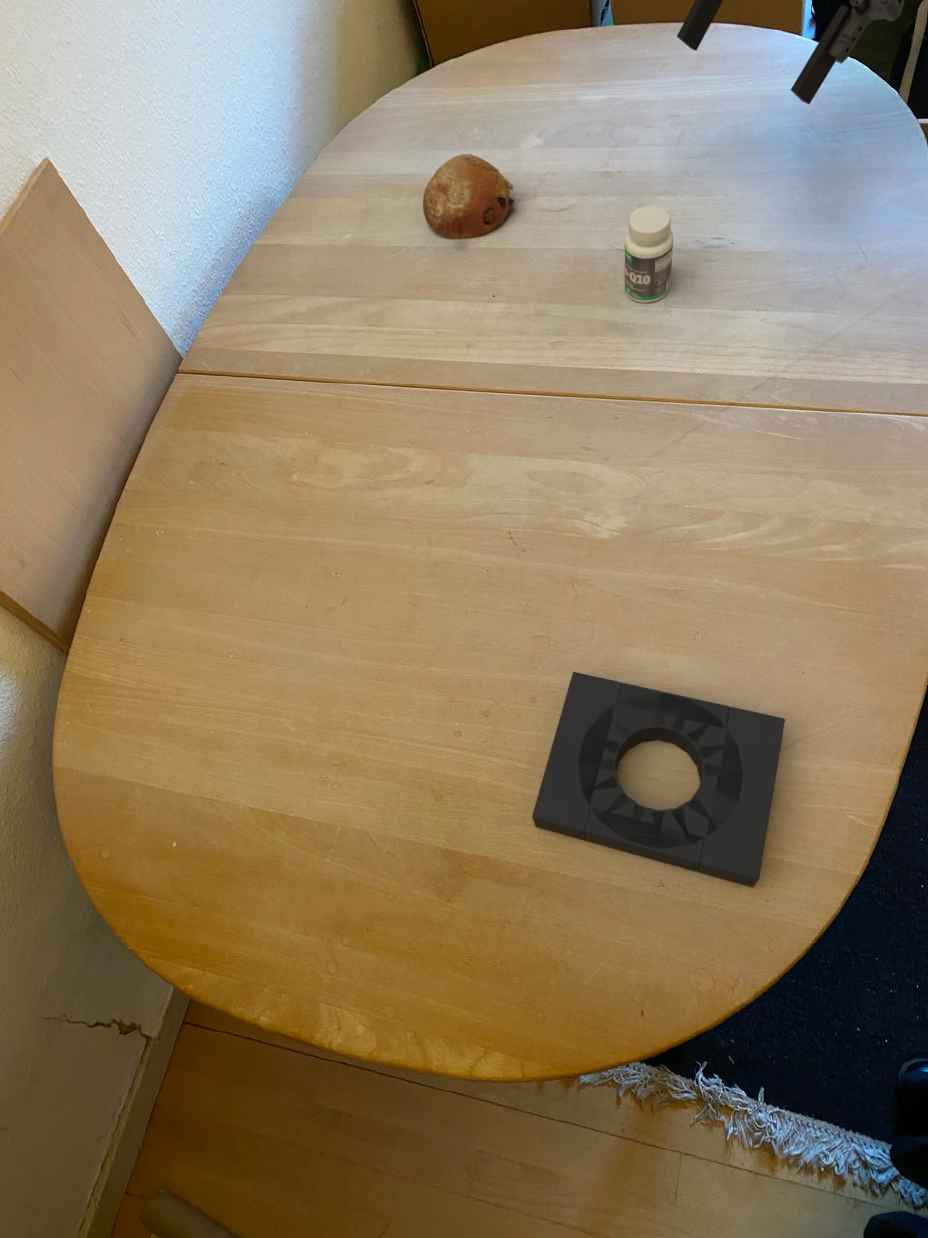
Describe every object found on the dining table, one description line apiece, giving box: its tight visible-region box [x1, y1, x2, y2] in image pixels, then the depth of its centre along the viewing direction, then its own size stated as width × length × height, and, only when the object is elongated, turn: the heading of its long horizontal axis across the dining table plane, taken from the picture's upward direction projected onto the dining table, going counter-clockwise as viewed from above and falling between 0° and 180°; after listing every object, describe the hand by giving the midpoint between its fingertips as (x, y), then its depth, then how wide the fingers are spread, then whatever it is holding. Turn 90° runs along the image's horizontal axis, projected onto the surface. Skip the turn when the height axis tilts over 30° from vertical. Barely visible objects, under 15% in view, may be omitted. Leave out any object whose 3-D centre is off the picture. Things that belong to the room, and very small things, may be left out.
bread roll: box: [422, 153, 515, 240], centre depth 97 cm, size 10×10×8 cm
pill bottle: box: [624, 205, 674, 304], centre depth 84 cm, size 5×5×8 cm
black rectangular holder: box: [531, 671, 786, 888], centre depth 62 cm, size 16×12×3 cm
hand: (740, 69), depth 75 cm, fingers open, 13 cm apart
